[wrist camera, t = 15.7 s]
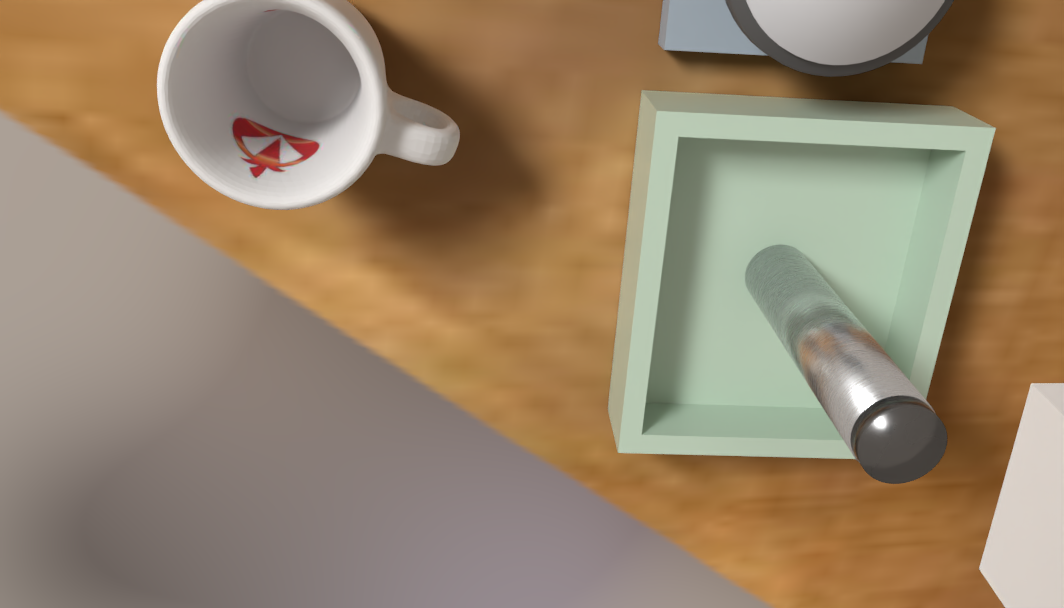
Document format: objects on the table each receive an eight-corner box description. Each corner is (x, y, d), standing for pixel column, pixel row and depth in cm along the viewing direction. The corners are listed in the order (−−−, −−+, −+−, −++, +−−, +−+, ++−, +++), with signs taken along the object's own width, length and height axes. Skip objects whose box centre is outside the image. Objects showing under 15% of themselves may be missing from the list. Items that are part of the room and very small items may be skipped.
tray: (641, 90, 43) (656, 110, 39) (952, 106, 44) (995, 127, 40) (607, 409, 49) (618, 452, 45) (879, 417, 50) (910, 460, 46)
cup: (491, 30, 41) (493, 65, 34) (430, 199, 44) (421, 265, 37) (238, -68, 39) (183, -53, 32) (192, 117, 42) (132, 169, 35)
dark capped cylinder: (750, 242, 45) (867, 404, 31) (814, 245, 45) (958, 407, 31) (740, 302, 46) (849, 483, 32) (802, 305, 46) (936, 486, 33)
